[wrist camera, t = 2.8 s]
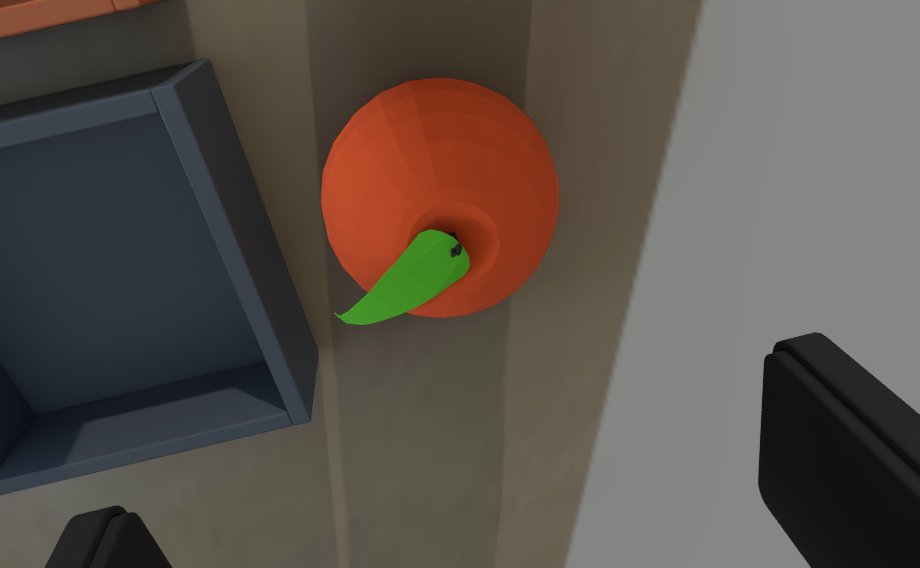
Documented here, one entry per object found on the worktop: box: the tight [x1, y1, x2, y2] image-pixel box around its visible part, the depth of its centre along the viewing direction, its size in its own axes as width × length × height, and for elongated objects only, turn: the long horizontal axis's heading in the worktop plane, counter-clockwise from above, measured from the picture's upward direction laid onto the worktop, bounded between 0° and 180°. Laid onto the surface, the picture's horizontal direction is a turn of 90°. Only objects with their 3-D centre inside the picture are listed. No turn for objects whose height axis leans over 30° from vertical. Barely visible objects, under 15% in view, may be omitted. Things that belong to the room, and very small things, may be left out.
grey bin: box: [0, 59, 318, 495], centre depth 20 cm, size 11×11×4 cm
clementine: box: [321, 77, 559, 325], centre depth 19 cm, size 8×7×7 cm
